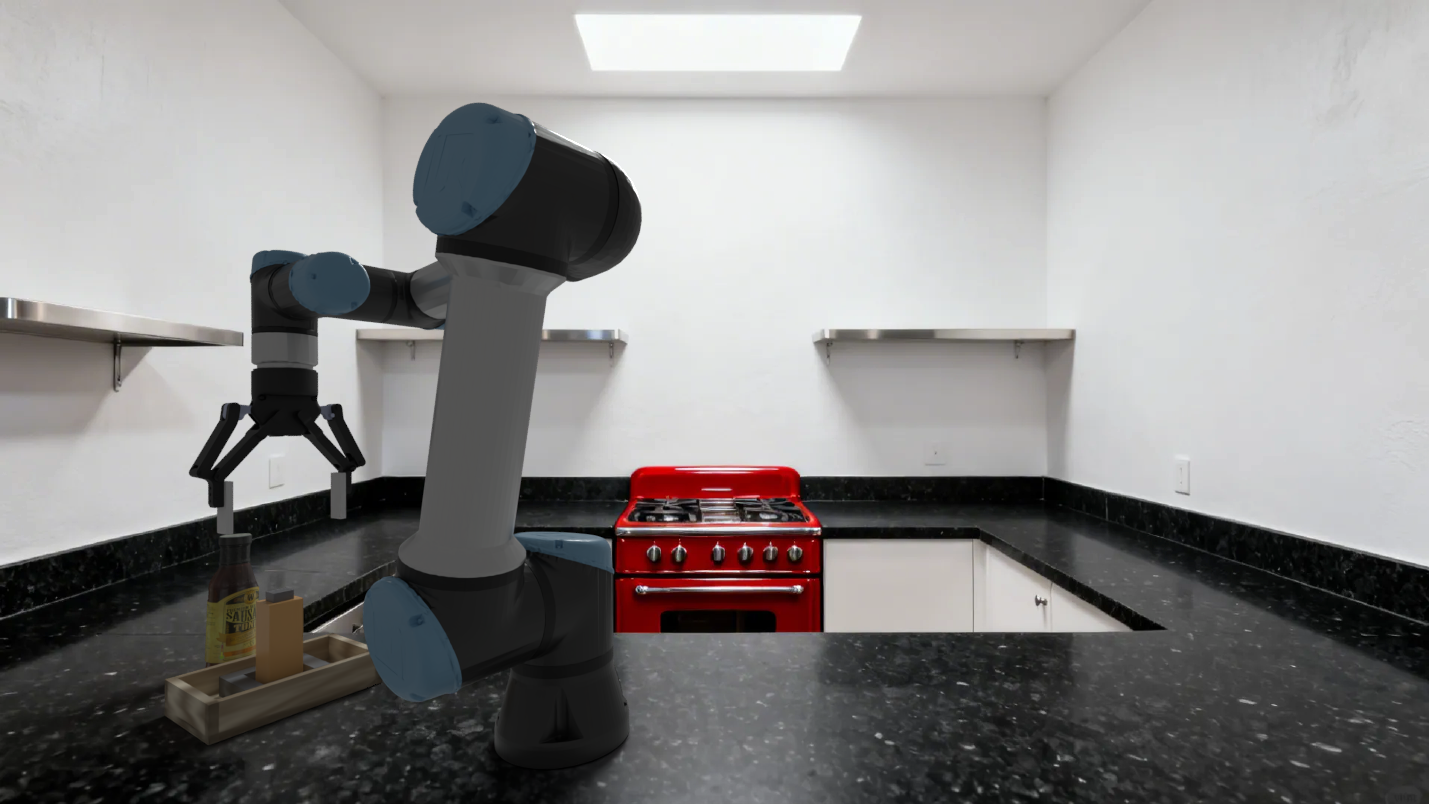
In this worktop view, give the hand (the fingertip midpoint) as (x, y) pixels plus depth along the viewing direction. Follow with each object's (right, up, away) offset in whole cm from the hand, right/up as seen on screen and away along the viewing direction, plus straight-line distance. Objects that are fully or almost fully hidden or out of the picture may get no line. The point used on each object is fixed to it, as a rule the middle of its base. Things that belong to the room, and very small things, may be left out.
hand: (285, 525), depth 84 cm
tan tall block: (0, -22, -1) cm, 22 cm away
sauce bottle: (-15, -24, +10) cm, 30 cm away
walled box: (0, -23, -1) cm, 23 cm away
